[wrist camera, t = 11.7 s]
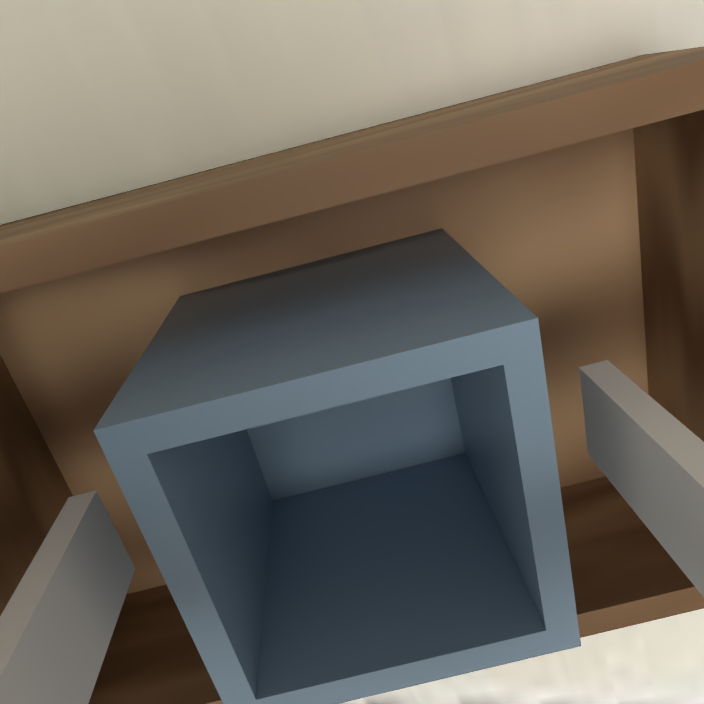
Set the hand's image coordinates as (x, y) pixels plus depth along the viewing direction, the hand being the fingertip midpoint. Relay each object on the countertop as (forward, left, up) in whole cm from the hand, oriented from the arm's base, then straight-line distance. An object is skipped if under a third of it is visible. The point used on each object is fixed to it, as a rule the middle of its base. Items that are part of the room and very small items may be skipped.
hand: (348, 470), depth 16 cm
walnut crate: (0, 0, -7) cm, 7 cm away
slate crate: (0, 0, -6) cm, 6 cm away
